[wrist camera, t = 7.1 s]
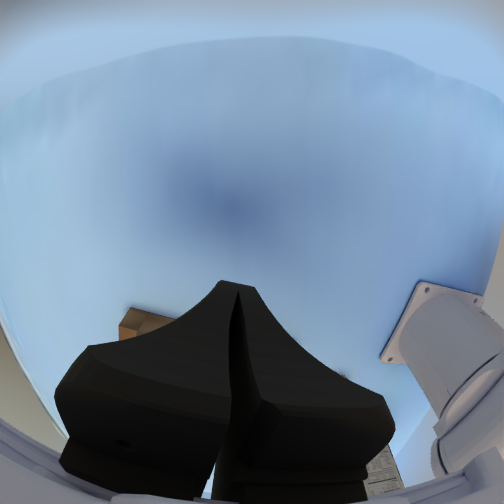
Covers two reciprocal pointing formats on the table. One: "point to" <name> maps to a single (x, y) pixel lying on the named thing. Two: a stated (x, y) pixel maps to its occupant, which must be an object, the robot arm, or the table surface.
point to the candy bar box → (382, 474)
